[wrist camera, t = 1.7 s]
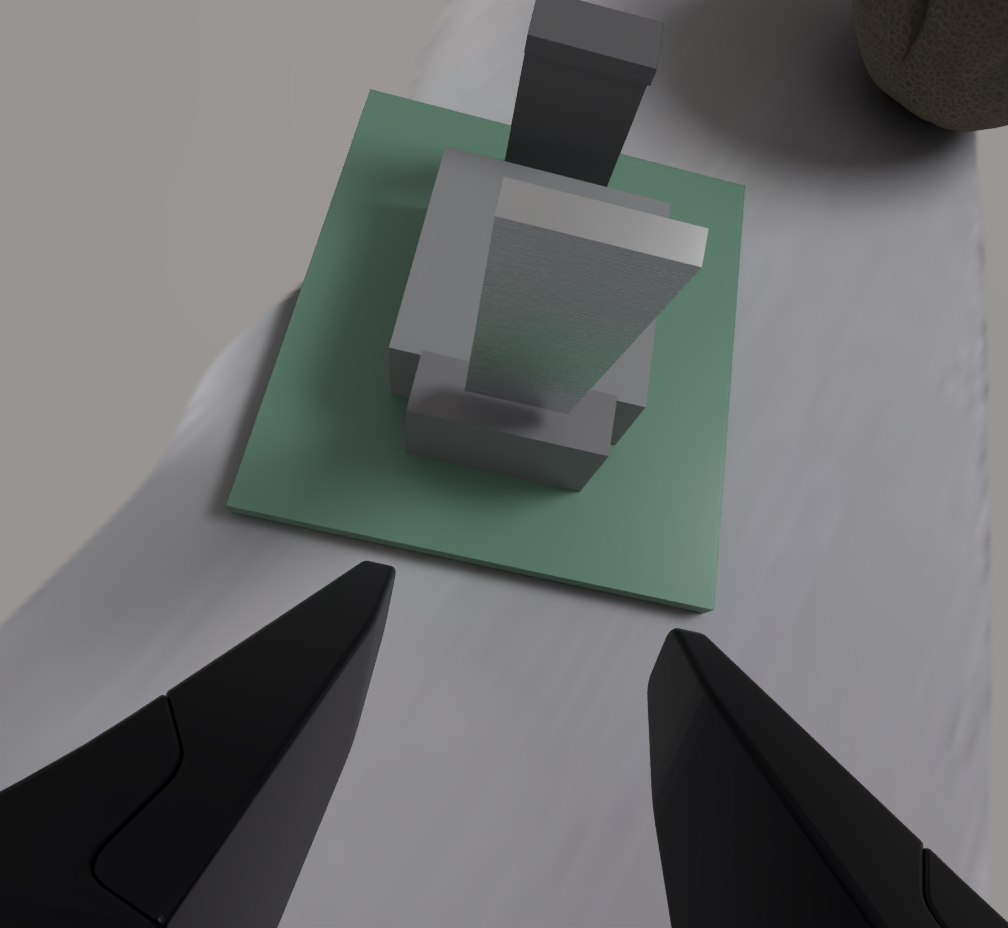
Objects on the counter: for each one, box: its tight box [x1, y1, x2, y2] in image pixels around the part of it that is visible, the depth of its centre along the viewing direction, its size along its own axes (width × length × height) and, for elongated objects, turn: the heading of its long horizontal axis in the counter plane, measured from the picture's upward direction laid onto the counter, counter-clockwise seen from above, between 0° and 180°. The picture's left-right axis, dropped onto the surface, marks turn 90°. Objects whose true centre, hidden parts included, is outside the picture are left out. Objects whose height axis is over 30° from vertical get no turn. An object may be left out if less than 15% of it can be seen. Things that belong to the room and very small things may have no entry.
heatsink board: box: [226, 0, 745, 613], centre depth 22 cm, size 18×16×8 cm
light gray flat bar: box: [465, 177, 709, 414], centre depth 15 cm, size 1×3×10 cm, turn 79°
